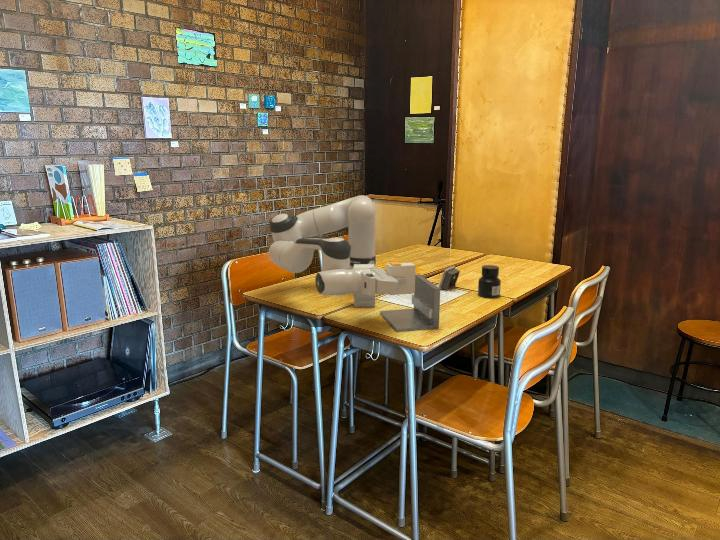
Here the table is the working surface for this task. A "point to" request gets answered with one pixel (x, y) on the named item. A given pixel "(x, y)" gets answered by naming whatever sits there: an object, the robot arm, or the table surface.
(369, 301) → the skincare box
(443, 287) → the electrical switch
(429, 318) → the grey l-shaped stand
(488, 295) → the ink bottle
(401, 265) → the module
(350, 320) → the table surface
